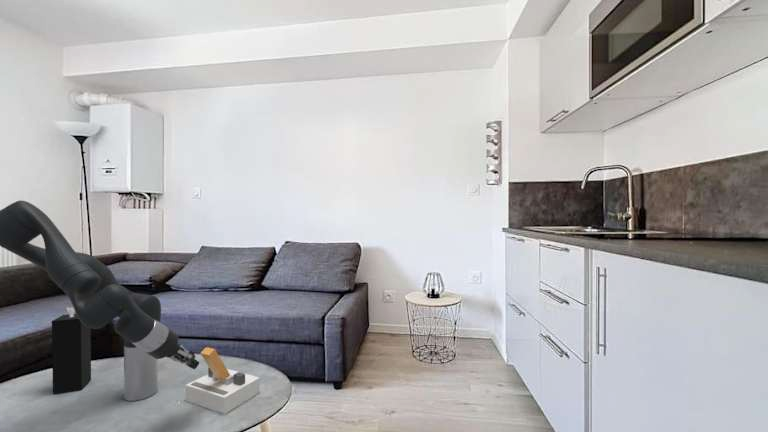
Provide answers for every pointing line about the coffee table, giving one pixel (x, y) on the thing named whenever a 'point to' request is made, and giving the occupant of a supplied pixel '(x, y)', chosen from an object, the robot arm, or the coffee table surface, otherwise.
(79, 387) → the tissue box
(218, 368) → the breaker handle
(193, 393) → the white slotted plate
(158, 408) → the coffee table surface
